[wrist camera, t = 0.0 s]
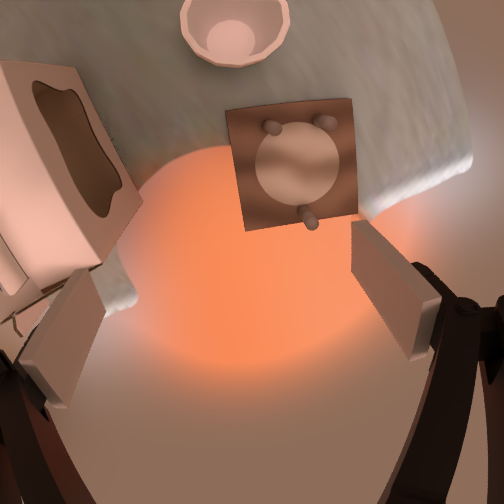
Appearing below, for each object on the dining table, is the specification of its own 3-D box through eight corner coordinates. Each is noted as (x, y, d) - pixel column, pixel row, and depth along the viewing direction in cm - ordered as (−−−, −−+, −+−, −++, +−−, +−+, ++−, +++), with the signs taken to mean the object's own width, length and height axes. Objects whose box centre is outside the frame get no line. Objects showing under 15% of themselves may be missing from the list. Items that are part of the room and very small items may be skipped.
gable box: (9, 118, 33) (-141, 171, 8) (75, 65, 32) (-87, 57, 7) (75, 242, 43) (-23, 379, 18) (145, 203, 42) (60, 348, 17)
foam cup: (232, -4, 30) (237, -44, 18) (284, 42, 34) (311, 19, 22) (177, 45, 33) (157, 21, 21) (229, 91, 36) (233, 86, 24)
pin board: (225, 111, 37) (226, 112, 31) (347, 98, 37) (367, 99, 32) (244, 227, 44) (248, 247, 39) (354, 209, 45) (372, 227, 39)
